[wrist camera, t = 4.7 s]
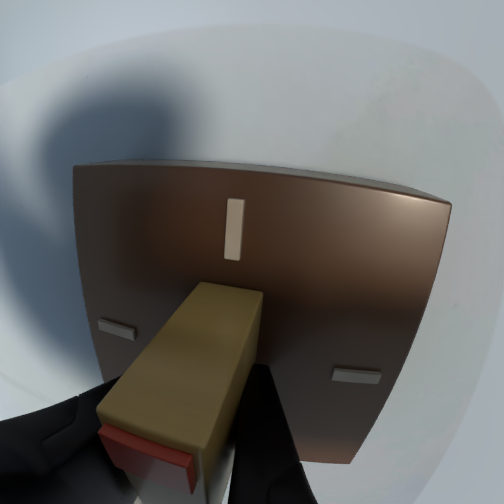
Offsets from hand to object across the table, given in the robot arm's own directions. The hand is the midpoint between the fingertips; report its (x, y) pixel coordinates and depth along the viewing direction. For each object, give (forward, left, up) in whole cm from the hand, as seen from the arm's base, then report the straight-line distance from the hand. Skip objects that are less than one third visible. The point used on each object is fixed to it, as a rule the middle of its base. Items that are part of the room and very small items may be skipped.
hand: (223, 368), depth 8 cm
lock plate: (0, 0, -4) cm, 4 cm away
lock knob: (0, 0, 0) cm, 0 cm away
